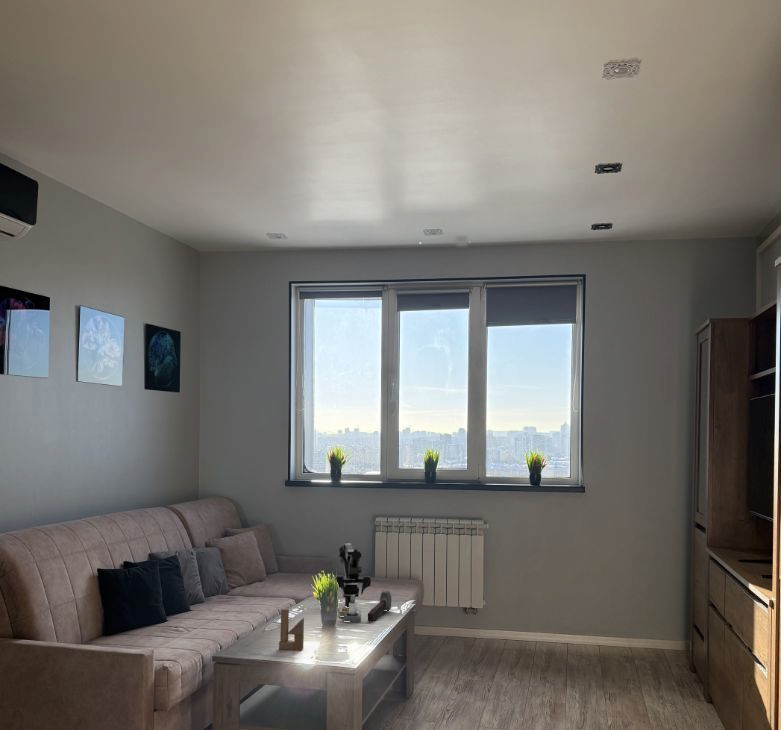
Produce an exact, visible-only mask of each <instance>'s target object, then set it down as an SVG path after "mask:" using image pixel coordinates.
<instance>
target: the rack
mask: <svg viewBox="0 0 781 730" xmlns="http://www.w3.org/2000/svg"><path fill="white" fill-rule="evenodd" d="M344 613H349V609H347V608H340V609H339V617H340V616H344Z"/></svg>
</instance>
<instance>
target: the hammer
mask: <svg viewBox="0 0 781 730" xmlns="http://www.w3.org/2000/svg"><path fill="white" fill-rule="evenodd" d="M391 609H392V594H391V592H390V590H382V592H381V593H380V597H379V603H377V604H376V605H375V606H374V607H373V608H372V609H370V611H369V612H368V613H367V622H368V621H374V620H375V621H377V619H378V618H379V617H380V615H381V614H382V613H383V612H384V611H383V610H387V611H389V610H390V611H391ZM387 611H386V612H387ZM390 611H389V612H390ZM375 621H374V622H375Z"/></svg>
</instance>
